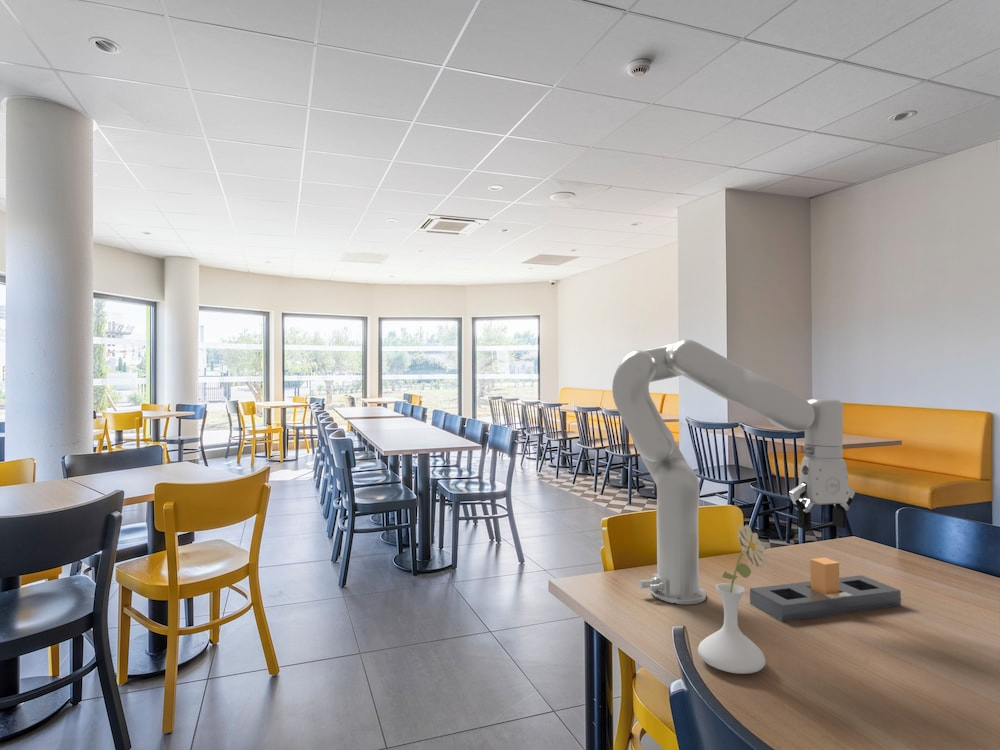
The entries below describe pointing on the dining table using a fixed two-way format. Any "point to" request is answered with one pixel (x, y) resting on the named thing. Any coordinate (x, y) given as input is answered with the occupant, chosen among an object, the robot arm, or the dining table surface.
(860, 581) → the peg board
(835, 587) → the square peg
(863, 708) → the dining table surface
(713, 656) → the flower in vase
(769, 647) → the dining table surface
